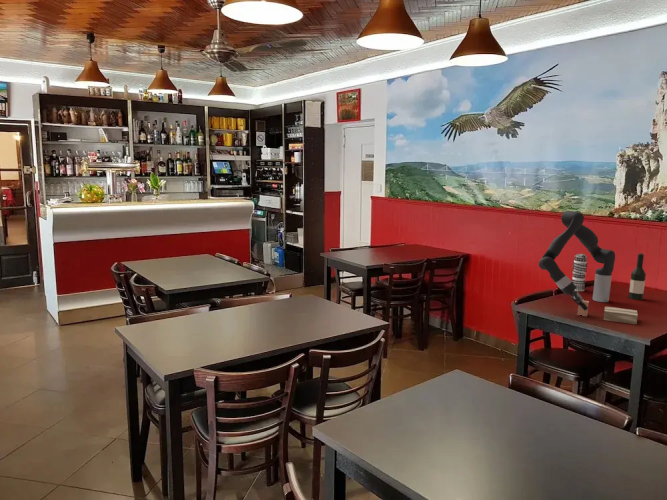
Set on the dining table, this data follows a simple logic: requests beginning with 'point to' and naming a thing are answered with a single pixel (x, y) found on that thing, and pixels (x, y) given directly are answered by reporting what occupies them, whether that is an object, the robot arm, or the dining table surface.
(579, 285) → the leaning tower model
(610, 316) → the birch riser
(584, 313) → the terracotta block
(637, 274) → the wine bottle
